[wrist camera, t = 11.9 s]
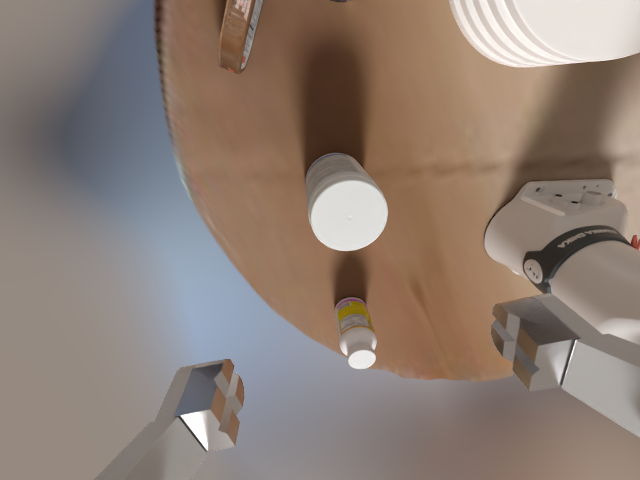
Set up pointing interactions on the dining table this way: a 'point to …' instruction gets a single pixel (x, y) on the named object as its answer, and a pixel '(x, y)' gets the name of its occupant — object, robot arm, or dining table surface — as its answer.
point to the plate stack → (550, 30)
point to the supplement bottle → (355, 332)
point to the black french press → (341, 0)
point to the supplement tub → (344, 203)
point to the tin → (238, 33)
